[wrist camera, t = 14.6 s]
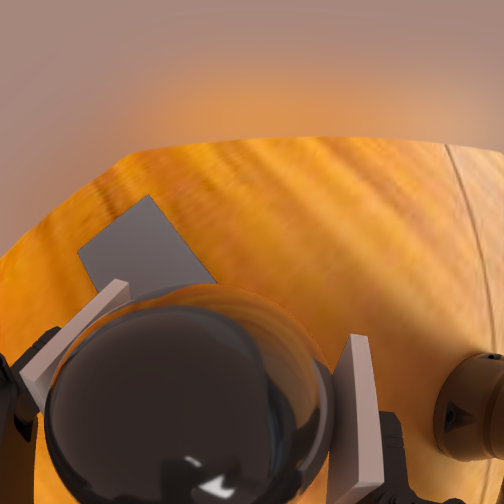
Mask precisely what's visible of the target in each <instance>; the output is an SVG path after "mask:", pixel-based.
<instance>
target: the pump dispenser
mask: <svg viewBox="0 0 504 504" xmlns="http://www.w3.org/2000/svg"><path fill="white" fill-rule="evenodd" d="M335 418H336V397H335V388H334V383H333V378H332V375H331V371H330V368H329V365H328V363H327V360H326V358H325V356H324V354H323V352H322V350H321V348H320V347H319V345H318V343H317V342H316V340H315V339H314V337H313V336H312V335H311V333H310V332H309V331H308V330H307V329H306V327H305V326H304V325H303V324H302V323H301V322H300V321H299V320H298V319H297V318H296V317H294V316H293V315H292V314H291V313H290V312H288V311H287V310H286V309H284V308H283V307H281V306H280V305H278V304H277V303H275V302H273V301H271V300H270V299H268V298H266V297H264V296H261V295H259V294H257V293H254V292H251V291H248V290H245V289H242V288H238V287H234V286H229V285H223V284H213V283H192V284H182V285H176V286H170V287H166V288H162V289H158V290H155V291H152V292H149V293H146V294H143V295H141V296H138V297H136V298H134V299H131V300H129V301H127V302H125V303H123V304H121V305H119V306H118V307H116V308H114V309H112V310H111V311H109V312H107V313H106V314H104V315H103V316H101V317H100V318H99V319H97V320H96V321H95V322H93V323H92V324H91V325H90V326H89V327H87V328H86V329H85V330H84V331H83V332H82V333H81V334H80V335H79V336H78V337H77V339H76V340H75V341H74V342H73V343H72V344H71V346H70V347H69V348H68V350H67V351H66V353H65V354H64V356H63V357H62V359H61V361H60V363H59V364H58V366H57V368H56V370H55V372H54V375H53V377H52V379H51V382H50V385H49V388H48V392H47V396H46V401H45V409H44V431H45V439H46V444H47V449H48V452H49V455H50V458H51V461H52V464H53V466H54V469H55V471H56V473H57V475H58V477H59V479H60V480H61V482H62V484H63V485H64V487H65V489H66V490H67V491H68V493H69V494H70V495H71V497H72V498H73V499H74V500H75V502H76V503H77V504H297V503H298V502H299V501H300V500H301V499H302V498H303V497H304V495H305V494H306V493H307V492H308V490H309V489H310V488H311V486H312V485H313V483H314V482H315V480H316V478H317V477H318V475H319V473H320V471H321V469H322V467H323V465H324V462H325V460H326V457H327V455H328V452H329V448H330V445H331V441H332V437H333V432H334V427H335Z"/></svg>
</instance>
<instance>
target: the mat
mask: <svg viewBox="0 0 504 504" xmlns="http://www.w3.org/2000/svg"><path fill="white" fill-rule="evenodd" d="M77 253H78V255H79V257H80V259H81V261H82V263H83V265H84V267H85V269H86V271H87V273H88V275H89V277H90V279H91V281H92V282H93V284H94V286H95V288H96V290H97V292H98V294H99V293H100V292H101V291H102V290H103V289H104V288H105V287H106V286H107V285H109V284H110V283H111V282H112V281H113V280H114V279H118V280H122V281H125V282H128V283H129V291H130V300H131V299H134V298H136V297H138V296H141V295H143V294H146V293H149V292H152V291H155V290H158V289H162V288H166V287H170V286H176V285H182V284H192V283H213V284H218V283H217V282H216V281H215V280H214V278H213V277H212V276H211V275H210V273H209V272H208V271H207V270H206V268H205V267H204V266H203V264H202V263H201V262H200V261H199V259H198V258H197V257H196V256H195V254H194V253H193V252H192V251H191V249H190V248H189V247H188V245H187V244H186V243H185V242H184V240H183V239H182V238H181V236H180V235H179V234H178V232H177V231H176V230H175V229H174V227H173V226H172V225H171V223H170V222H169V221H168V219H167V218H166V217H165V215H164V214H163V213H162V211H161V210H160V209H159V207H158V206H157V205H156V203H155V202H154V201H153V199H152V198H151V197H150V195H149V194H148V195H147V196H146V197H144V198H143V199H142V200H140V201H139V202H138V203H136V204H135V205H134V206H132V207H131V208H130V209H129V210H127V211H126V212H125V213H123V214H122V215H121V216H120V217H118V218H117V219H116V220H115V221H113V222H112V223H111V224H110V225H108V226H107V227H106V228H105V229H103V230H102V231H101V232H100V233H99V234H97V235H96V236H95V237H94V238H93V239H91V240H90V241H89V242H88V243H87V244H86V245H84V246H83V247H82V248H81V249H80V250H79V251H78V252H77Z"/></svg>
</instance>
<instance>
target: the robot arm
mask: <svg viewBox="0 0 504 504" xmlns="http://www.w3.org/2000/svg"><path fill="white" fill-rule="evenodd" d="M129 300H130V291H129V283H128V282H125V281H122V280H118V279H114V280H113V281H112V282H111V283H110V284H109V285H107V286H106V287H105V288H104V289H103V290H102V291H101V292H100V293H99V294H98V295H97V296H95V297H94V298H93V299H92V300H91V301H90V302H89V303H88V304H87V305H86V306H85V307H84V308H83V309H82V310H81V311H80V312H79V313H77V314H76V315H75V316H74V317H73V318H72V319H71V320H70V321H69V322H68V323H67V324H66V325H65V326H64V327H63V328H60V327H57V326H56V327H54V328H52V329H50V330H48V331H46V332H45V333H44V334H43V335H42V336H41V337H40V338H39V339H38V341H36V342H35V343H34V344H33V345H32V347H30V348H29V349H28V350H27V351H26V352H25V353H24V354H23V355H22V356H21V357H20V358H19V359H18V360H17V361H16V362H15V363H14V364H13V365H12V366H11V367H9V365H8V363H7V361H6V359H5V357H4V356H3V355H2V354H1V353H0V504H34V465H35V450H36V439H37V430H38V418H37V416H36V415H37V414H38V413H39V411H41V413H42V415H43V416H44V409H45V401H46V396H47V392H48V388H49V385H50V382H51V379H52V377H53V375H54V372H55V370H56V368H57V366H58V364H59V363H60V361H61V359H62V357H63V356H64V354H65V353H66V351H67V350H68V348H69V347H70V346H71V344H72V343H73V342H74V341H75V340H76V339H77V337H78V336H79V335H80V334H81V333H82V332H83V331H84V330H85V329H86V328H87V327H89V326H90V325H91V324H92V323H93V322H95V321H96V320H97V319H99V318H100V317H101V316H103V315H104V314H106V313H107V312H109V311H111V310H112V309H114V308H116V307H118V306H119V305H121V304H123V303H125V302H127V301H129ZM332 378H333V383H334V388H335V397H336V418H335V427H334V432H333V437H332V441H331V445H330V451H329V470H328V485H327V497H326V504H466V503H464V502H463V501H462V500H460V499H457V498H452V499H449V500H447V501H445V502H443V503H437V502H432V501H428V500H424V499H421V498H419V497H417V495H416V494H415V492H414V491H413V490H411V489H410V487H409V484H408V477H407V467H406V459H405V450H404V448H403V446H404V443H403V438H402V429H401V423H400V422H399V420H398V418H397V417H396V415H395V413H394V412H382V411H378V403H377V395H376V388H375V381H374V374H373V367H372V361H371V355H370V349H369V343H368V337H367V336H363V335H357V334H351V333H350V335H349V338H348V340H347V343H346V345H345V347H344V350H343V352H342V354H341V357H340V359H339V361H338V364H337V366H336V368H335V370H334V372H333V375H332ZM433 428H434V435H435V439H436V442H437V444H438V446H439V448H440V449H441V451H442V452H443V453H444V454H445V455H447V456H449V457H451V458H453V459H456V460H458V461H462V462H473V461H479V460H486V459H491V458H498V459H501V460H504V356H503V355H500V354H496V353H485V354H478V355H474V356H472V357H470V358H468V359H466V360H464V361H463V362H462V363H461V364H459V365H458V366H457V367H456V368H455V369H454V370H453V372H452V373H451V374H450V376H449V377H448V379H447V380H446V382H445V384H444V385H443V387H442V389H441V392H440V394H439V397H438V400H437V403H436V407H435V412H434V420H433ZM496 504H504V478H503V482H502V485H501V489H500V492H499V496H498V499H497V502H496Z"/></svg>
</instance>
